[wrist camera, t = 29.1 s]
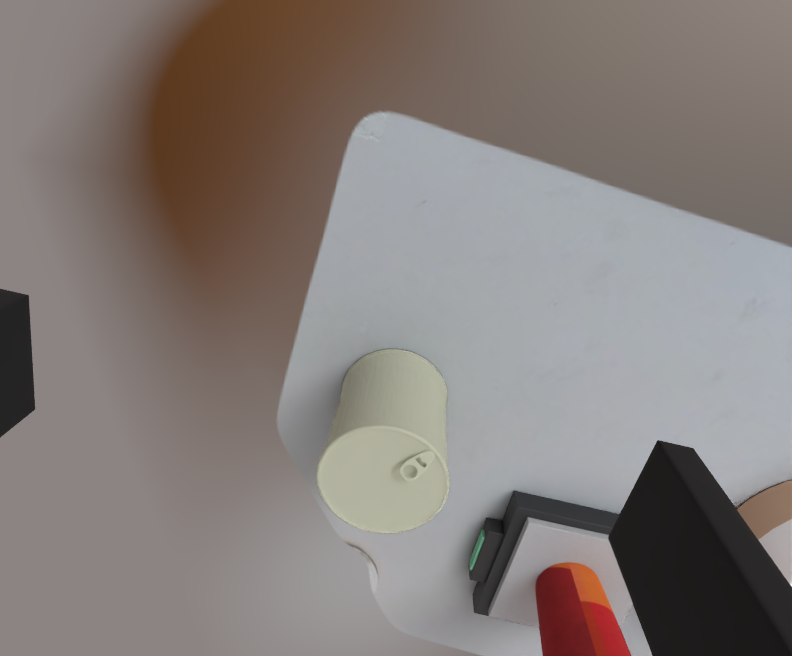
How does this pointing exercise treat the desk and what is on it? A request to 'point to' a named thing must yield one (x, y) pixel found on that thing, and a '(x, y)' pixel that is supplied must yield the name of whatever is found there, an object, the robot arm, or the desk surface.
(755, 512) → the bowl
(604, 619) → the coffee cup
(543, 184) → the desk surface
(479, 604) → the scale
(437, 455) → the can
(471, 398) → the desk surface
